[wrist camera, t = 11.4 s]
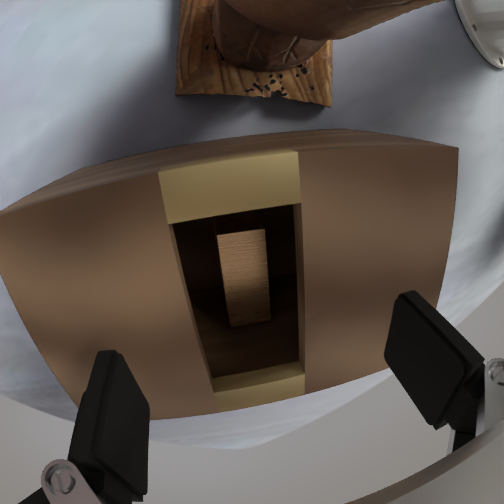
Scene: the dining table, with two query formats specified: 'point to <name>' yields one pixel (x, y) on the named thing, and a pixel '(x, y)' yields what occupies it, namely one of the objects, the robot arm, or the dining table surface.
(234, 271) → the tan flat square block
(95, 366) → the robot arm
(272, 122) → the dining table surface
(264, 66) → the bird sculpture
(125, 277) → the box
